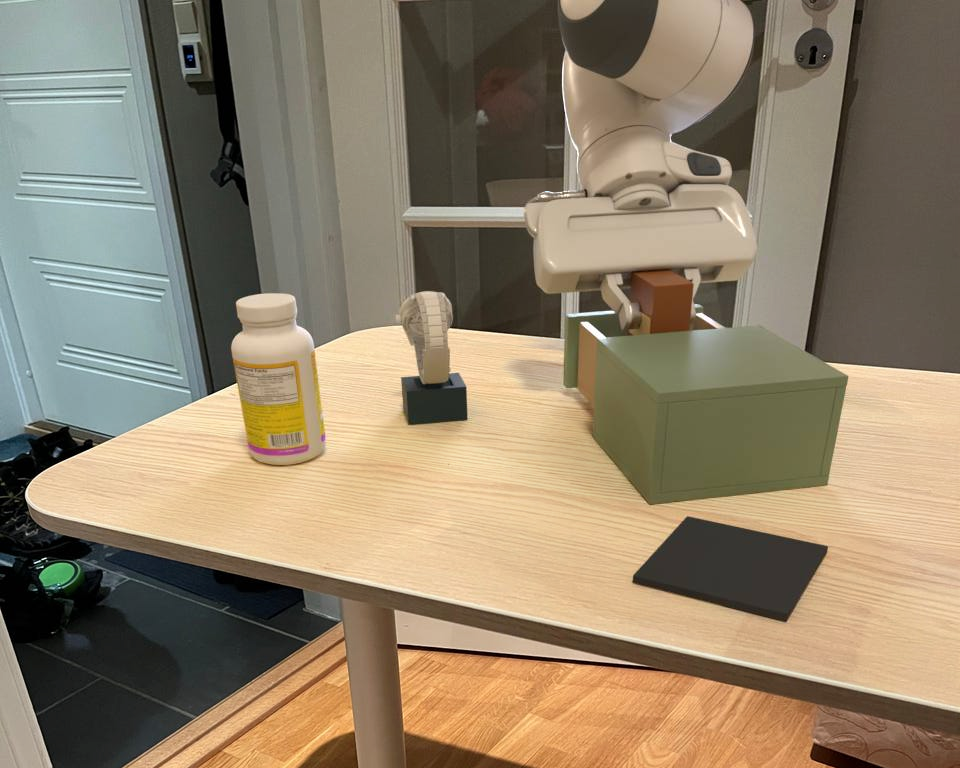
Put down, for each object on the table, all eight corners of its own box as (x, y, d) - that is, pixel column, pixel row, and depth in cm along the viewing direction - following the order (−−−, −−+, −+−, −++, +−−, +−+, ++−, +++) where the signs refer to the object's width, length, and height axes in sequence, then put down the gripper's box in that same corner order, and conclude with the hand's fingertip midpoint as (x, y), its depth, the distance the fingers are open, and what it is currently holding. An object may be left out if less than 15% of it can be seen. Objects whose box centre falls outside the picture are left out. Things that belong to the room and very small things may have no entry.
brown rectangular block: (624, 382, 89) (630, 271, 83) (660, 378, 89) (668, 268, 84) (645, 402, 84) (654, 286, 78) (683, 398, 84) (694, 283, 79)
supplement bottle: (288, 433, 85) (267, 286, 78) (342, 448, 82) (326, 295, 75) (233, 457, 80) (205, 303, 73) (288, 473, 77) (264, 314, 70)
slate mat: (827, 553, 63) (828, 545, 63) (786, 622, 56) (788, 613, 56) (686, 523, 68) (687, 515, 68) (632, 583, 61) (632, 575, 60)
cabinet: (592, 436, 83) (596, 338, 78) (746, 421, 85) (760, 325, 80) (649, 504, 71) (658, 393, 66) (827, 485, 73) (849, 375, 68)
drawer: (551, 372, 95) (553, 303, 92) (676, 361, 97) (682, 293, 94) (605, 432, 81) (609, 353, 77) (749, 418, 83) (760, 341, 79)
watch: (456, 398, 92) (452, 281, 86) (470, 426, 85) (467, 301, 79) (400, 402, 91) (391, 285, 85) (409, 431, 85) (401, 306, 79)
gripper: (526, 170, 81) (553, 312, 79) (746, 159, 84) (779, 296, 82) (514, 217, 87) (539, 351, 85) (720, 205, 90) (750, 334, 88)
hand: (659, 324), depth 83 cm, fingers closed on brown rectangular block, 4 cm apart
